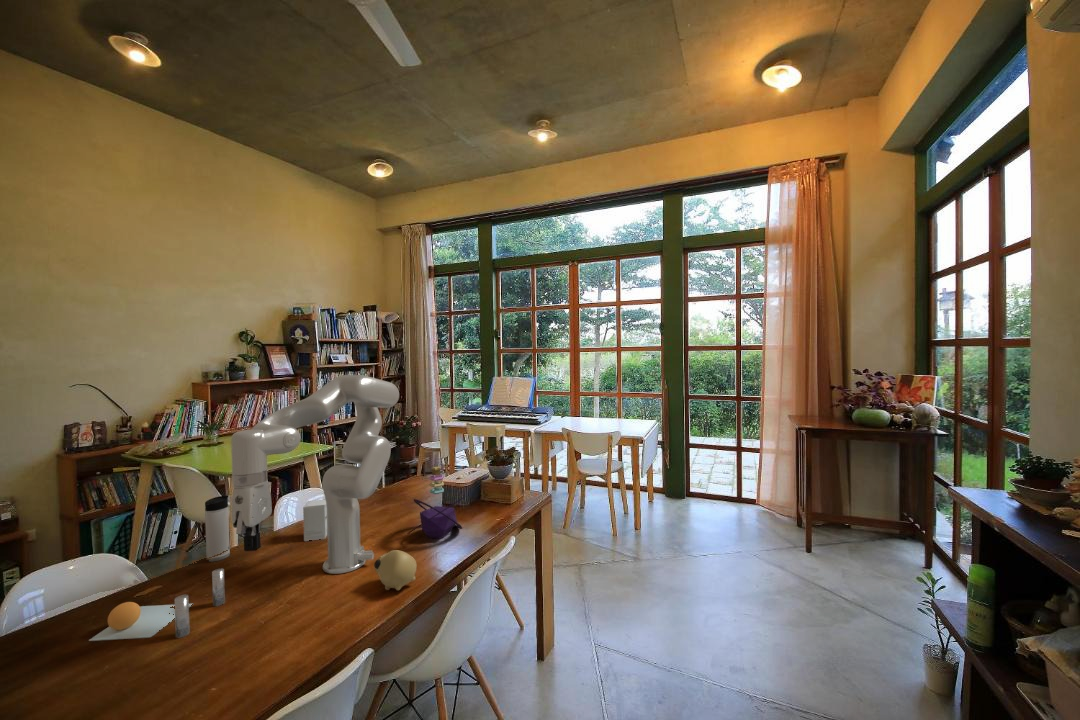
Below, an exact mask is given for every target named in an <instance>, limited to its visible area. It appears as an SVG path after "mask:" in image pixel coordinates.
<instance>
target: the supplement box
mask: <svg viewBox="0 0 1080 720" xmlns="http://www.w3.org/2000/svg"><path fill="white" fill-rule="evenodd" d="M302 509H303V512H302V513H303V541H304V542H310V541H309V540H312V541H319V539H321V540H325V539H327V507H326V499H317V500H316V499H315V500H314V499H313V500H308V501H307V502H306V503H305V505H304V506H303V508H302Z"/></svg>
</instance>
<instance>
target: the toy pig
mask: <svg viewBox="0 0 1080 720" xmlns="http://www.w3.org/2000/svg"><path fill="white" fill-rule="evenodd" d="M373 566H374V570H375V571H374V572H375V573H376V574H378V576H379V580H380V582H381V583H382V585H384V589H385V591H389V590H390V589H395V590H396V591H400V590H401V589H402V588H403V587H404V586H406V585H407V584H409V583H410V582H415V581H416V576H415V575H416V572H417V561H416V559H415V558H414V557H413V556H412V555H410V554H409V553H407V552H405V551H402V550H399V549H391V550H390V551H389V552H388V553H387V552H386V553H383V554H382V555H380V556H379V557H378V559H377V560H375V562H374V565H373Z"/></svg>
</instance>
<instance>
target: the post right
mask: <svg viewBox="0 0 1080 720" xmlns="http://www.w3.org/2000/svg"><path fill="white" fill-rule="evenodd" d="M211 576H212V577H211V579H212V580H211V582H212V606H213V607H215V606H216V607H221V606H222V604H223V605H224V604H225V603H226V596H225V594H226V593H225V591H226V590H225V569H224V568H217V569H215V570H212V571H211Z"/></svg>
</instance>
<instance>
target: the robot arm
mask: <svg viewBox="0 0 1080 720" xmlns="http://www.w3.org/2000/svg"><path fill="white" fill-rule="evenodd" d="M399 391H400V390H399V389H398V387H397V386H396V385H395V384H394V383H392V382H390V381H386V380H383V379H379V378H375V377H373V376H368V375H362V374H352V375H351V374H343V375H342V374H341V375H339V376H336V377H334V378H333V379H331V380H330V381H329V382H327V383H326V384H324V385H323V386H321V388H319V389H317V390H316V391H315V392H313V393H312V394H310V395H309V396H307V397H306V398H304V399H301V400H299V401H295V402H294V403H292V404H290V405H287V406H285V407H282V408H281V409H278V410H276V411H274V412H273V413H271V414H269V415H268V416H266V417H264V418H263V419H261V421H260V420H259V422H257V424H255V425H254V426H253V427H252V428H251V429H242V430H240V431H239V430H238V431H237V432H234V433H233V434H232V435H231V439H230V443H231V444H230V445H231V446H230V448H231V451H230V452H231V481H232V494H231V495H232V497H231V512H230V513H231V524H232V527H233V528H235V529H236V531H235V534H236V535H241V536H242V537H243V551H244V552H257V551H258V550H259V549H260V548H261V547H262V545H261V542H262V541H261V531H262V525H263V524H262V523H263V522H264V521H265V520H266V519H268V518H269V517H270V516H271V515H272V513H273V509H272V508H273V507H272V504H273V503H272V494H271V488H270V483H269V482H270V481H268V456H271V455H281V454H283V455H284V454H288V453H290V452H293V451H294V450H295V449H297V447H298V446H299V445H300V442H301V439H302V438H301V433H300V432H299V430H298V429H299V428H301V427H306V426H310V425H315V424H318V423H321V422H324V421H326V420H328V419H329V418H330V417H332V416H333V415H334V414H335V413H337V412H338V411H339V410H340V409H341V408H343V407H344V406H346V405H347V404H348V403H350V402H353V403H354V407H355V410H356V419H355V422H354V424H353V426H352V429H351V430H350V432H349V435H348V436H347V439H346V441H345V442H344V446H343V448H342V451H341V456H342V459H344V461H346V462H348V463H351V464H357V465H359V466H357V465H356V466H355V465H350V464H349V465H348V464H338V465H334V466H331V467H329V468H328V469H327V470H326V471H325V473H324V474H323V477H322V483H321V484H322V490H323V495H324V498H325V499H326V507H327V536H326V539H327V560H325V561H324V562H323V563H322V570H323V571H324V572H325V573H327V574H334V575H337V574H338V575H339V574H344V573H346V574H347V573H349V572H352V571H355V570H357V569H359V568H361V567H362V566H363V565H364V564H366V562H367V560H374V558H375V553H374V552H373V550H365V548H364V545H361V521H360V519H361V517H360V514H361V511H360V504H359V500H365V499H368V498H370V497H371V496H372V495H373V494H374V493H375V491H376V490H377V488H378V486H379V484H380V481H381V479H382V476H383V474H384V472H385V470H386V467H387V465H388V463H389V460H390V457H391V450H392V447H391V444H390V443H391V442H390V441H389V440H388V439H387V438H386V437H384V436H382V435H379V434H380V432H381V429H382V424H383V420H382V415H381V413H380V410H379V408H382V409H383V408H384V409H385V408H386V409H387V408H392V407H394V406H395V405H396V404H397V403H398V401H399V399H400V392H399Z"/></svg>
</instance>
